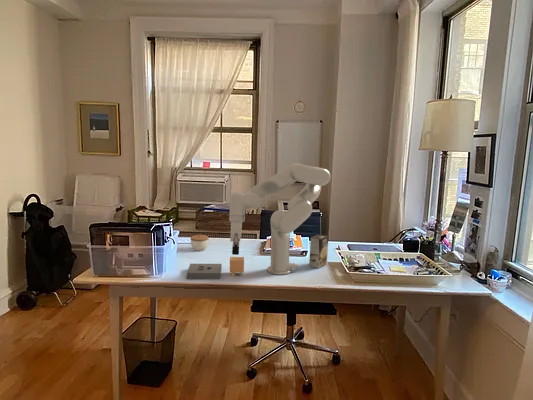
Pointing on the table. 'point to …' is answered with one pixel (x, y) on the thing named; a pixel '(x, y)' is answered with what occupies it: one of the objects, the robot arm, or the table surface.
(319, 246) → the coffee box
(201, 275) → the socket
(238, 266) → the plug
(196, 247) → the lidded jar
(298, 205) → the robot arm
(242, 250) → the table surface
